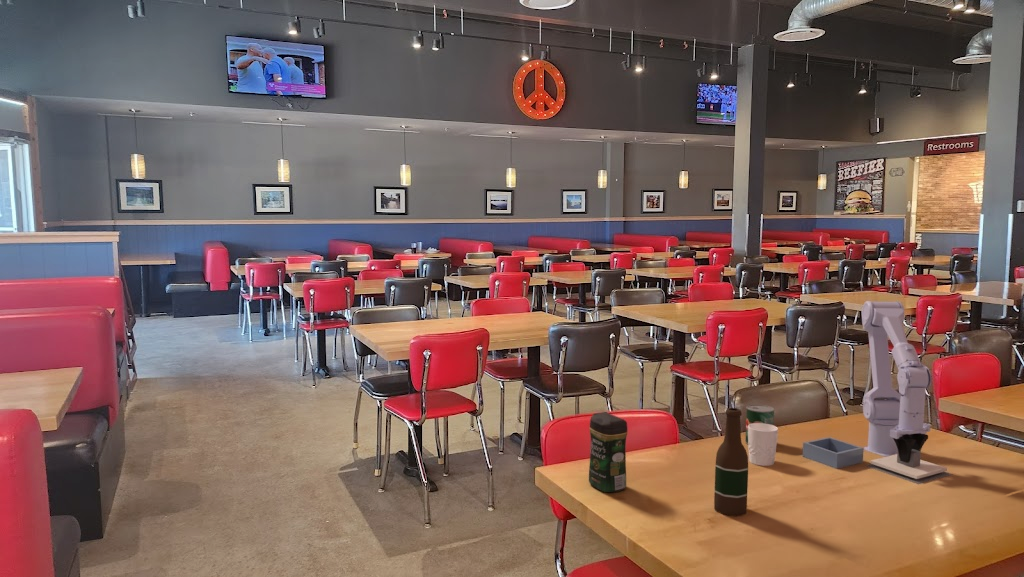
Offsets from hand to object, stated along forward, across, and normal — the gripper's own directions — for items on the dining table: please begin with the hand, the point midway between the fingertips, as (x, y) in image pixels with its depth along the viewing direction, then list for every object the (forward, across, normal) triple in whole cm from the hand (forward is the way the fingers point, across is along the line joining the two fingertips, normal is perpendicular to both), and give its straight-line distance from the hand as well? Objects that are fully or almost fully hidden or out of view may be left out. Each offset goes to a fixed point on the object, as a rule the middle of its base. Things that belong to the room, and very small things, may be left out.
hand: (908, 460), depth 190 cm
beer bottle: (+3, -62, +3) cm, 62 cm away
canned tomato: (+3, -18, +35) cm, 40 cm away
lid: (+2, 0, 0) cm, 2 cm away
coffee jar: (+3, -78, +28) cm, 84 cm away
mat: (+3, 0, 0) cm, 3 cm away
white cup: (+3, -30, +23) cm, 38 cm away
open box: (+3, -11, +15) cm, 19 cm away
